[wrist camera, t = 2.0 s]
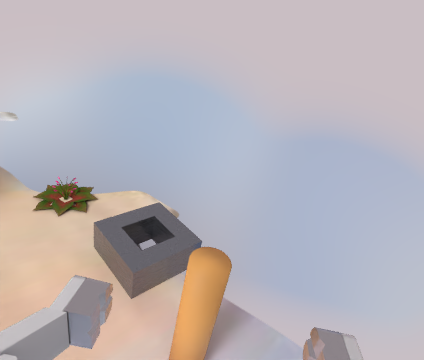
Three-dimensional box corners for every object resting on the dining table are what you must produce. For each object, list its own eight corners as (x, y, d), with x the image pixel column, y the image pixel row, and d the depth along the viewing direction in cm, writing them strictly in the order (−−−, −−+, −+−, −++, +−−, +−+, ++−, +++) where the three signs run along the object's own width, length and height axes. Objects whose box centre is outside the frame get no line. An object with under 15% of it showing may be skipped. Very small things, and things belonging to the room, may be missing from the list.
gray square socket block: (94, 246, 47) (93, 222, 45) (156, 224, 55) (159, 202, 52) (131, 298, 40) (133, 273, 38) (196, 264, 48) (201, 241, 45)
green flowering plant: (20, 218, 50) (16, 196, 48) (41, 183, 60) (39, 163, 58) (94, 220, 53) (93, 200, 51) (102, 186, 63) (102, 168, 61)
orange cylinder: (162, 356, 34) (180, 257, 26) (188, 337, 37) (211, 241, 29) (182, 386, 32) (209, 286, 24) (209, 363, 34) (240, 267, 27)
